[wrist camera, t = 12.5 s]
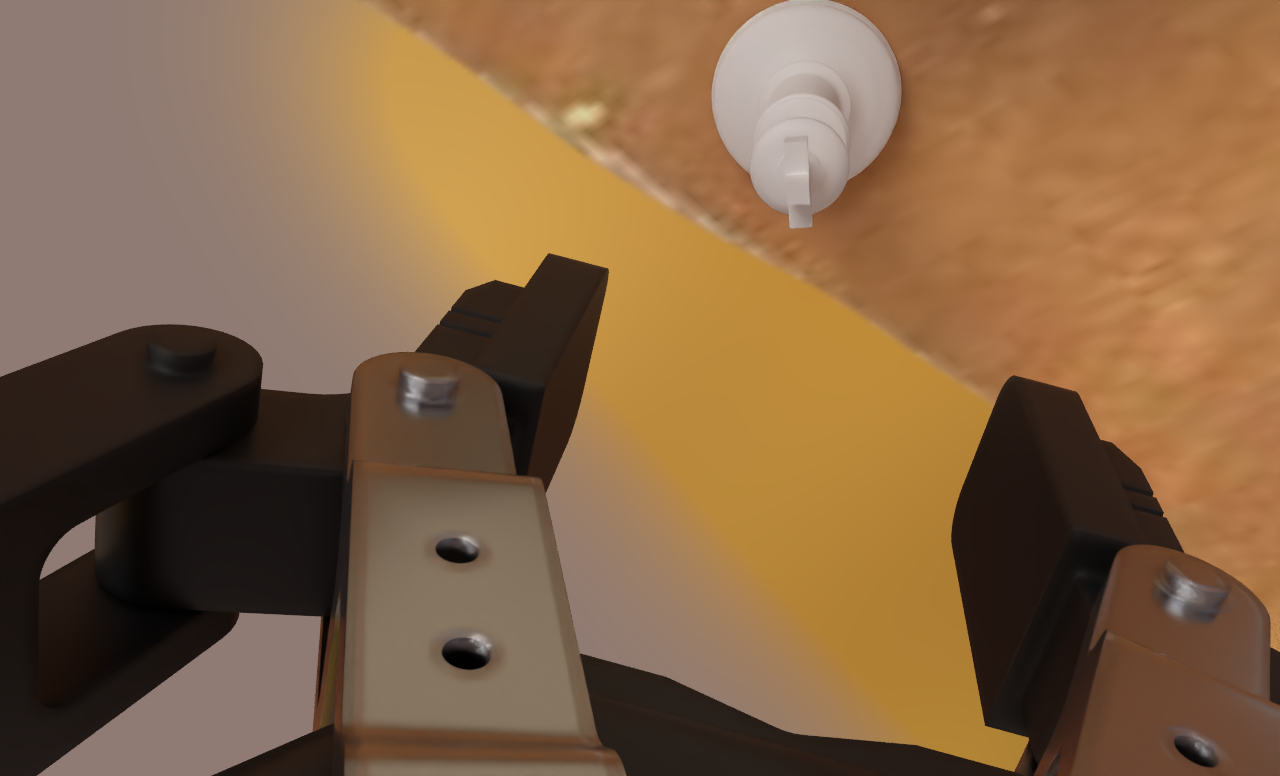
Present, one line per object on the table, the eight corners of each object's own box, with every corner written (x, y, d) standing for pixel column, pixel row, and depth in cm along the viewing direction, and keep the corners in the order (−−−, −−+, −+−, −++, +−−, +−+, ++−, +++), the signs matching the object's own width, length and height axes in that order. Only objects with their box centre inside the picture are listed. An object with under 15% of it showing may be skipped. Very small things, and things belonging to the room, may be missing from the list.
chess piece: (720, 194, 33) (680, 324, 24) (703, 8, 31) (653, 71, 22) (904, 180, 32) (934, 309, 23) (898, -12, 30) (930, 45, 21)
